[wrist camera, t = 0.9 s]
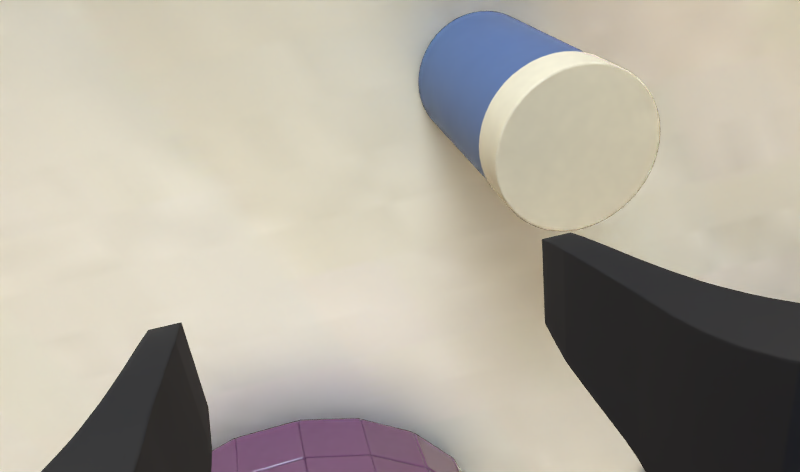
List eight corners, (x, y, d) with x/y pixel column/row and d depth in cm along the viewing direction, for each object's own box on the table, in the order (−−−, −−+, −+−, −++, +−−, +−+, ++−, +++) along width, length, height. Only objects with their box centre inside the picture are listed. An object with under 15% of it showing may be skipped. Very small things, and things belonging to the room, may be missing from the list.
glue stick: (564, 43, 23) (693, 105, 17) (501, 157, 24) (600, 253, 18) (455, -15, 22) (555, 31, 16) (393, 110, 23) (463, 198, 17)
